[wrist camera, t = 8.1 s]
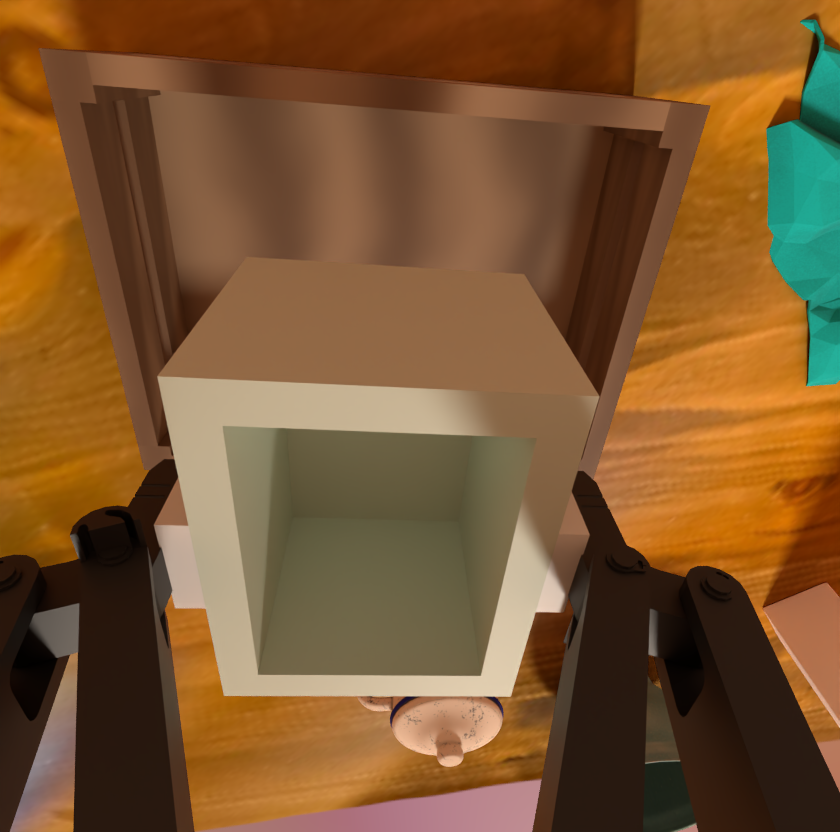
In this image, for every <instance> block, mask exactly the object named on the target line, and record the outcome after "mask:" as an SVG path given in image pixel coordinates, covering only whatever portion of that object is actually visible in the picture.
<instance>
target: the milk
mask: <svg viewBox="0 0 840 832" xmlns="http://www.w3.org/2000/svg"><path fill="white" fill-rule="evenodd" d="M763 610H764V612H765V614H766V616H767V617H768V619H769V621H770V623H771V625H772V626H773V628H774V630H775V632H776V634H777V635H778V637H779V639H780V641H781V642H782V644H783V645H784V647H785V648H786V649H787V651H788V652H789V654H790V655H791V657H792V658H793V660H794V661H795V663H796V664H797V666H798V667H799V669H800V670H801V672H802V673H803V675H804V676H805V677H806V679H807V680H808V682H809V683H810V685H811V686H812V688H813V689H814V691H815V692H816V694H817V695H818V697H819V698H820V700H821V701H822V703H823V704H824V705H825V707H826V708H827V710H828V711H829V713H830V714H831V716H832V717H833V719H834V720H835V722H836V723H837V725H838V726H839V728H840V597H839V596H838V595H837V594H836V593H835V591H834V590H833V589H832V588H831V587H830V586H829V584H828V583H823V584H820V585H818V586H816V587H813V588H811V589H808V590H806V591H803V592H801V593H798V594H796V595H794V596H791V597H789V598H786V599H784V600H781V601H779V602H776V603H774V604H772V605H769V606H767V607H764V608H763Z"/></svg>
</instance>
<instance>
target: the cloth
mask: <svg viewBox="0 0 840 832" xmlns="http://www.w3.org/2000/svg"><path fill="white" fill-rule="evenodd" d="M800 23H802V24H803V25H804V26H806V27H807V28H808V29H810V30H811V31H812V32H814V33H815V34H816V36H817V39H818V42H819V53H818V55H817V57H816V60H815V62H814V65H813V67H812V69H811V72H810V74H809V77H808V79H807V81H806V84H805V86H804V89H803V91H802V99H801V111H800V120H798V119H797V120H793V121H789V122H786V123H783V124H780V125H776V126H772V127H769V128H768V129H767V149H768V158H769V181H768V227H769V228H770V230H771V232H772V233H773V235H774V237H773V241H772V244H771V248H770V255H771V258H772V261H773V263H774V264H775V266H776V268H777V269H778V271H779V272H780V274H781V275H782V277H783V279H784V280H785V282H786V283H787V284H788V285H789V286H790V287H791V288H792V289H793V290H794V291H795V292H796V293H797V294H798V295H799V296H800V297H801V298H802V299H803V300H809V302H808V309H807V313H808V322H809V332H810V346H809V367H808V382H807V384H806V386H816V385H830V384H836V383H837V382H838V381H839V380H840V51H839V50H837V49H834V48H832V47H830V46H828V45H826V44H824V36H823V34H822V32H821V29H820V27H819V25H818V23H817V21H816V20H802V21H800Z"/></svg>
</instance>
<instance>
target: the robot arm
mask: <svg viewBox="0 0 840 832" xmlns="http://www.w3.org/2000/svg"><path fill="white" fill-rule="evenodd" d="M607 507H608V506H607V504H606V502H605V500H604V498H602V494H601V491H600V489H599V487H598V485H597V483H596V482H595V481H594V480H593V479H592V478H591V477H590V476H589V475H587V474H586V473H585V472H584V471H577V474H576V478H575V481H574V484H573V488H572V491H571V495H570V498H569V501H568V505H567V508H566V511H565V515H564V518H563V522H562V525H561V528H560V532H559V535H558V538H557V542H556V545H555V549H554V552H553V555H552V559H551V562H550V565H549V569H548V572H547V576H546V579H545V582H544V586H543V589H542V592H541V596H540V599H539V603H538V606H537V609H536V612H564V610H565V607H566V604H567V601H568V598H569V599H570V602H571V605H572V608H573V611H574V613H573V616H572V619H571V622H570V625H569V627H568V630H567V633H566V636H565V639H564V643H566V648H565V653H564V659H563V665H562V670H561V676H560V681H559V687H558V692H557V698H556V703H555V709H554V715H553V720H552V726H551V731H550V737H549V742H548V748H547V753H546V759H545V764H544V770H543V776H542V781H541V787H540V792H539V798H538V804H537V809H536V814H535V820H534V825H533V831H532V832H643V815H644V783H645V752H646V720H647V689H648V657H649V655H652V656H654V660H655V664H656V668H657V672H658V675H659V679H660V683H661V687H662V691H663V695H664V699H665V703H666V707H667V711H668V715H669V719H670V722H671V726H672V730H673V734H674V738H675V742H676V746H677V750H678V754H679V758H680V762H681V766H682V769H683V773H684V777H685V781H686V785H687V789H688V793H689V797H690V801H691V805H692V809H693V812H694V816H695V820H696V824H697V828H698V832H840V792H839V790H838V788H837V786H836V784H835V781H834V779H833V777H832V775H831V773H830V771H829V769H828V766H827V764H826V762H825V760H824V758H823V756H822V754H821V752H820V749H819V747H818V745H817V743H816V741H815V738H814V736H813V734H812V732H811V730H810V728H809V726H808V723H807V721H806V719H805V717H804V715H803V713H802V711H801V708H800V706H799V704H798V702H797V700H796V698H795V695H794V693H793V691H792V689H791V687H790V685H789V683H788V680H787V678H786V676H785V674H784V672H783V670H782V668H781V665H780V663H779V661H778V659H777V657H776V655H775V653H774V650H773V648H772V646H771V644H770V642H769V640H768V637H767V635H766V633H765V631H764V629H763V627H762V625H761V622H760V620H759V618H758V616H757V614H756V612H755V610H754V607H753V605H752V603H751V601H750V599H749V597H748V595H747V592H746V591H745V589H744V588H743V587H742V585H741V584H740V583H739V582H738V581H737V580H736V579H735V578H733V577H732V576H731V575H729V574H727V573H725V572H724V571H722V570H720V569H717V568H713V567H709V566H697V567H694V568H692V569H690V571H689V572H688V574H687V576H686V577H682V576H678V575H675V574H671V573H667V572H664V571H660V570H657V569H655V568H652V567H650V565H649V563H648V561H647V560H646V559H645V557H644V556H643V555H642V554H641V553H639V552H638V551H637V550H635V549H634V548H631V547H629V546H627V545H626V543H625V541H624V539H623V537H622V535H621V533H620V531H619V528H618V526H617V524H616V522H615V520H614V518H613V516H612V514H611V512H610V510H609V509H608V508H607ZM70 536H71V539H72V542H73V544H74V547H75V550H76V552H77V555H78V558H79V559H77V560H73V561H70V562H66V563H61V564H56V565H52V566H47V567H42V568H40V567H39V565H38V563H37V561H36V560H35V559H34V558H31V557H29V556H27V555H11V556H6V557H2V558H0V832H10V829H11V826H12V823H13V820H14V817H15V814H16V811H17V808H18V806H19V803H20V800H21V797H22V794H23V791H24V788H25V785H26V782H27V779H28V776H29V773H30V770H31V767H32V765H33V762H34V759H35V756H36V753H37V750H38V747H39V744H40V741H41V738H42V735H43V732H44V729H45V726H46V723H47V721H48V718H49V715H50V712H51V709H52V706H53V703H54V700H55V697H56V694H57V691H58V688H59V685H60V682H61V680H62V677H63V674H64V671H65V668H66V665H67V662H68V659H69V656H70V654H73V653H77V652H78V674H77V713H76V752H75V792H74V831H73V832H194V825H193V817H192V809H191V801H190V793H189V785H188V778H187V770H186V762H185V754H184V746H183V738H182V730H181V722H180V714H179V706H178V699H177V691H176V683H175V675H174V667H173V659H172V651H171V643H170V635H169V628H168V620H167V616H166V612H165V607H166V605H167V603H168V600H169V598H170V595H171V594H172V598H173V602H174V606H175V608H206V607H205V602H204V598H203V593H202V588H201V583H200V578H199V574H198V569H197V564H196V559H195V554H194V550H193V545H192V540H191V535H190V531H189V526H188V521H187V516H186V511H185V507H184V502H183V497H182V492H181V488H180V483H179V478H178V473H177V468H176V464H175V459H164V460H162V461H161V462H160V463H158V464H157V465H156V466H155V467H153V468H152V469H151V470H149V472H148V474H147V475H146V477H145V479H144V481H143V482H142V485H141V487H139V489H138V491H137V492H136V494H135V498H133V499H132V501H131V502H130V504H129V506H128V507H124V506H110V507H104V508H101V509H98V510H95V511H92V512H90V513H89V514H87V515H85V516H84V517H82V518H81V519H80V520H79V521H78V522H77V523H76V524H75V525H74V526H73V528H72V531H71V534H70Z"/></svg>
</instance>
